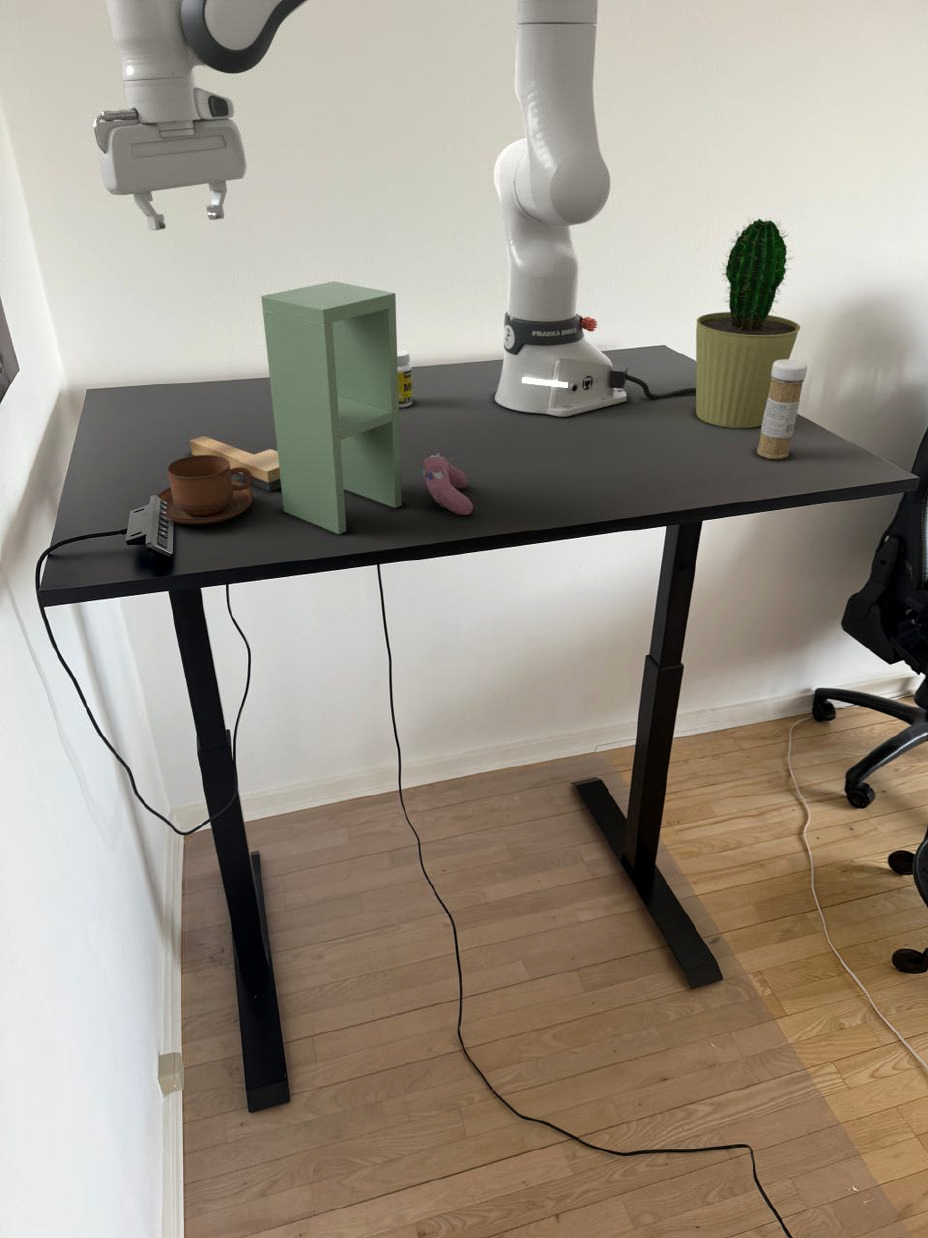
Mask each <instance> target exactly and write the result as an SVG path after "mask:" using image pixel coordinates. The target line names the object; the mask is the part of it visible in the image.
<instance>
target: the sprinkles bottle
mask: <svg viewBox="0 0 928 1238" xmlns="http://www.w3.org/2000/svg"><path fill="white" fill-rule="evenodd" d="M807 371H808V365H807V364H806V362H804V361H800V360H798V359H796V360H795V359H789V360H788V359H785V360H777V361H775V362H774V363H773V367H772V372H771V376H772V377H771V378H772V380H771V384H770V389H769V394H768V399H767V404H766V409H765V412H764V418H763V423H762V425H761V429H760V437H759V441H758V446H757V449H756V453H757V455H758V456H760V457H762V458H765V459H768V460H774V461H775V460H784V459H786V458H788V457H789V454H790V452H789V450H790V447H791V446H790V445H791V442H792V437H793V436H794V435H793V434H794V429H795V424H796V421H797V415H798V412H799V406H800V401H801V394H802V390H803V384H804V382H805V379H806V377H807Z"/></svg>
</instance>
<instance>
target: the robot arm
mask: <svg viewBox="0 0 928 1238" xmlns="http://www.w3.org/2000/svg"><path fill="white" fill-rule="evenodd" d="M308 1H309V0H105V3H106V10H107V16H108V19H109V24H110V25H109V26H110V30H111V34H112V38H113V42H114V44H115V46H116V49H117V50H118V53H119V56H120V61H121V81H122V86H123V90H124V94H125V100H126V103H127V107H128V108H126V109H119V110H103V111H101V112H100V114H99V115H98V116H97V117H96V118H95V120H94V122H93V125H92V126H93V127H92V129H93V134H94V139H95V143H96V145H97V147H98V157H99V165H100V172H101V177H102V183H103V186H104V188H105V189H106V190H107V191H108V192H109V193H110V194H111V195H113V196H128V195H133V200H134V203H135V204H136V205H137V207H138V208H139V210H141V212H142V213H143V214H144V215H145V216H146V220H147V221H146V222H147V225H148V228H149V230H150V231H160V230H165V229H166V227H167V225H166V223H165V216H164V214H161V213H158V212H157V211H156V210H155V208H154V207H153V205H152V204H151V202H153V201H154V198H153V194H152V192H157V191H165V190H171V189H178V188H184V187H186V188H187V187H193V186H199V185H206V184H208V189H209V192H212V196H211V202H210V204H209V205H206V206H205V207H206V212H207V218H208V219H209V220H210V221H218V220H223V219H225V212H224V211H225V210H224V206H223V205H224V203H225V199H226V196H227V192H228V187H227V182H228V181H234V180H241V179H244V178H245V176H246V173H247V169H248V165H247V158H246V152H245V148H244V143H243V138H242V135H241V131H240V128H239V127H238V124H236V122H235V121H234V120H232V118H233V117H234V116H235V111H236V110H235V105H234V102H233V101H232V99H230V98H228V97H225V96H223V95H219V94H216V93H214V92H211V91H209V90H206V89H203V88H201V87H197V81H196V80H197V79H196V74H195V69H196V67H204V68H205V67H206V68H209V69H211V70H214V71H217V72H220V73H224V74H231V75H233V74H235V75H236V74H241V73H245V72H247V71H249V70H252V69H253V68H254V67H256V66H257V65H259V63H260V62H262V60H263V59H264V57H265V56H266V55H267V52H268V51H269V49H270V47H271V45H272V43H273V41H274V38H275V36H276V33H277V32H278V30H279V28H280V26H281V25H282V23H283V22H284V21H285V20H286V19H287V18H288V17H290V15H292V14H294V12H295V11H296V10H298V9H299V8H301V7H302V6H304V4H305V3H308ZM598 2H599V1H598V0H517V11H516V12H517V13H516V34H515V35H516V36H515V37H516V38H515V63H514V64H515V67H514V69H515V71H514V90H515V95H516V98H517V100H518V102H519V105H520V110H521V113H522V119H523V126H524V132H525V137H524V138H521V139H518V140H515V141H514V142H512V143H510V144H509V145H507V146H506V147H505V148H504V149H503V150H502V151H501V152H500V153H499V155H498V157H497V159H496V162H495V164H494V168H493V183H494V187H495V190H496V192H497V195H498V198H499V200H500V207H501V215H502V221H503V228H504V235H505V236H504V237H505V242H506V249H507V261H508V274H507V275H508V276H507V277H508V279H507V282H508V283H507V311H506V312H505V313H504V321H503V349H504V353H503V362H502V367H501V372H500V377H499V378H500V379H499V382H498V385H497V390H496V393H495V395H494V401H495V402H496V403H497V404H498V405H500V406H502V407H504V408H507V409H510V410H513V411H516V412H517V411H518V412H523V413H531V414H543V415H544V414H545V415H549V416H553V417H554V416H555V417H562V418H563V417H570V416H573V415H578V414H581V413H586V412H589V411H593V410H598V409H601V408H605V407H608V406H609V407H610V406H613V405H617V404H621V403H624V402H627V400H628V399H627V396H628V395H627V392H626V391H625V390H624V388H625V385H626V383H627V381H629V382H631V383H634V384H637V385H639V386H640V387H641V388H642V390H643V393H644V396H645V397H647V398H648V399H651V400H659V399H665V398H666V399H667V398H671V397H678V396H681V395H686V394H696V387H688V388H687V387H686V388H681V389H678V390H673V391H670V392H667V393H663V394H656V393H652V392H651V391H650V388H649V385H648V384H647V383H646V381H644V380H642V379H640V378H638V377H635V376H633V375H630V374H628V367H629V365H628V364H618V363H614V364H613V363H612V361H611V359H610V358H609V357H608V356H607V355H606V354H604V353H603V352H602V351H601V350H600V349H598V348H597V347H596V346H595V345H594V344H593V343H591V341H589V340H588V339H587V338H585V333H584V330H586V331H588V332H590V333H592V332H594V331H596V329H597V328H598V321H597V320H596V319H595V318H592V317H590V316H585V317H583V316H582V315H580V314H578V313H577V309H578V307H577V306H578V294H579V278H580V262H579V257H578V255H577V252H576V250H575V247H574V243H573V239H572V232H571V227H573V226H578V225H581V224H585V223H588V222H590V221H591V220H593V219H594V218H596V217H597V216H598V215H600V212H602V210H603V209H604V208H605V205H606V203H607V202H608V199H609V196H610V191H611V176H610V172H609V168H608V166H607V164H606V162H605V160H604V157H603V155H602V153H601V148H600V142H599V136H598V135H599V133H598V128H597V127H598V126H597V120H596V112H595V101H594V77H595V76H594V74H595V57H596V41H597V24H598V6H599V4H598ZM101 120H102V121H101Z"/></svg>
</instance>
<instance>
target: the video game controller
mask: <svg viewBox="0 0 928 1238" xmlns="http://www.w3.org/2000/svg"><path fill="white" fill-rule="evenodd" d="M423 464H424V469H422V475H423V477H425V478H424V480H425V484H426V486H427V488H428V491H429V493H430V495H431V497H432V498H433V499H434V501H435V502H436V504H439V506H440V507H441V508H442V509H443V508H445V509H447V510H448V511H451V512H452V513H454V514H457V515H459V516H469V515H470V514H471V513H472V512H473V509H474V507H473V506H474V505H473V502H472V501H471V500H470V498H468V497H467V496H466V495H464V494H463V493H462V492H460V490H458V489H461V490H462V489H464V488H466V487H467V484H468V479H467V477H466V475H465V473H464V472H463V471H461V470H460V469H459V468H457V467H455V466H454V465H452V464H451V463H450V462H449V461H448V460H447V459H446V458H445V457H444V456H442V455H440V452H438V453H437V454H436V455H433V454H432V455H430V456H428V457H427V458H425V459H423Z"/></svg>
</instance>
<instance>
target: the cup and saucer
mask: <svg viewBox="0 0 928 1238" xmlns="http://www.w3.org/2000/svg"><path fill="white" fill-rule="evenodd" d="M239 472H242V473H244V474H246V476H247V482H245V483H242V482H238V481H234V480H232V476H234V475H235V474H240V473H239ZM167 476H168V480H169V485H170V487H168V488H165V490H163V491H160V493H158V494H157V495H156V496H158V497H159V498H160V499H161V500H163V501H165V502H166V503H167V504H166V511H165V512H166V514H165V516H166V517H167V518H169V519H170V520H171V521H170V520H169V521H170V522H173V523H177V524H182V525H193V526H194V525H196V526H198V525H199V526H200V525H210V524H217V523H220V522H221V523H222V522H224V521H227V520H230V519H233V518H235V517H237V516H239V515H240V514H242V513H243V512H245V511H246V510H247V509H248V508H249V507H250V505H252V503H253V499H254V492H253V490H252V489H251V488H250V487H251V486H252V484H251V483H252V480H253V477H252V474H251V472H250V471H249V470H248V469H246V468H243V467H236V468H232V469H230V463H229V461H228V460H227V459H225V458H223V457H219V456H214V455H196V456H195V455H191V456H190V455H189V456H185V457H182V458H179V459H176V460H174V461H172V462H171V463H169V465H168V466H167Z"/></svg>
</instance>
